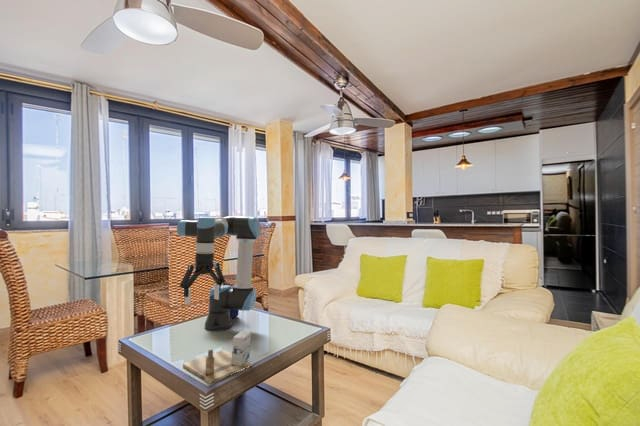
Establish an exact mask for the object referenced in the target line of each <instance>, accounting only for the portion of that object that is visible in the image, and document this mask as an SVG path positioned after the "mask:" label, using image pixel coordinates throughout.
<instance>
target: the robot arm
mask: <svg viewBox="0 0 640 426" xmlns="http://www.w3.org/2000/svg"><path fill="white" fill-rule="evenodd" d="M176 232H177V235H179V236H180V237H186V238H187V237H188V238H189V237H191V238H192V237H194V238H195V237H196V242H195V244H196V245H195V252H196V253H195V256H194V257H195V260H194V261H195V264H188V265H187V270H186V271H185V273H184V276H183V278H182V280H181V282H180V284H179V288H181V289H183V296H184V298H185V300H184V304H185V305H188V306H190V305H191V294H192V293H191V292H192V289H191V286H193V284H194V283H195V281H196V280H197V279H198V277H199V276H201V275H202V276H203V275H209V276H210V277H211V278H212V280H213V281H214V282H215V284H214V286H212V287H211V288H210V290H209V297H208V299H209V300H208V315H207V317H206V319H205V322H204V329H206V330H208V331H223V330H227V329H230V328H231V327H232V326H233V320H232V319H231V316H230V309H232V310H239V311H242V312H244V311H245V312H246V311H251V310H252V309H253V308H254V307H255V304H256V300H257V296H258V295H257V290H255V289H254V285H253V284H252V273H253V259H254V258H253V257H254V243H255V242H256V241H257V238H259V237H260V235H261V223H260V220H259V219H258V218H257V217H256V216H246V215H245V216H243V215H230V216H222V217H217V218H215V217H207V216H205V217H203V216H199V217H198V218H197V219H196V220H187V219H185V220H179V222H178V223H177V225H176ZM225 236H232V237H233V236H235V239H236V241H237V242H238V245H237V260H236V261H237V263H236V275H235V276H236V277H235V278H236V279H235V284H233V285H232V286H233V289H231V287H232V286H231V285H230V284H229V285H228V284H225V285H224V284H223V283H225V282H226V280H225V278H224V275H223V273H222V269H221V266H220V264H221V263H220V262H215V261H214V258H215V253H214V252H215V239H220V238H224V237H225ZM213 268H214V270H215V271H214V270H213ZM193 271H194V272H193Z"/></svg>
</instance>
